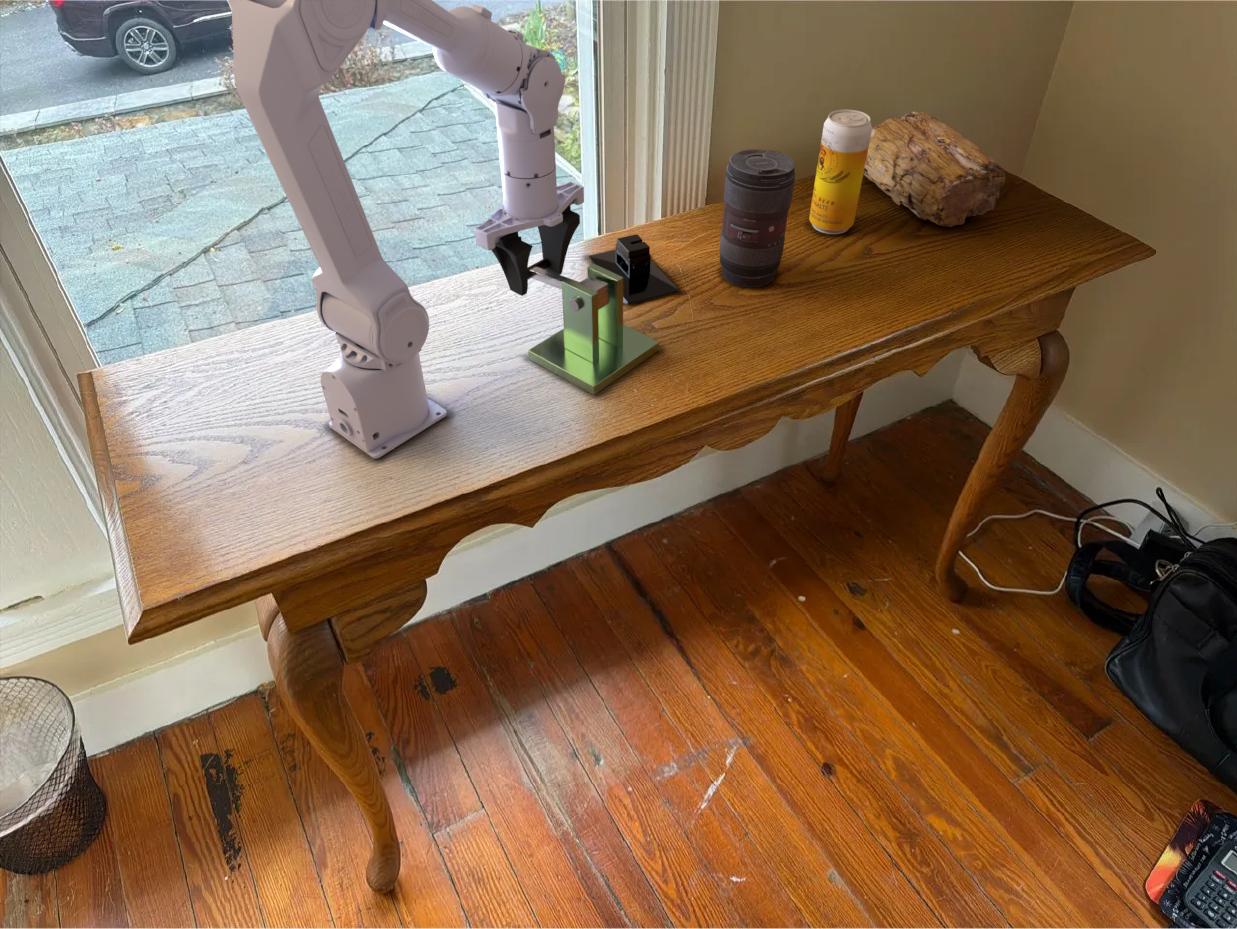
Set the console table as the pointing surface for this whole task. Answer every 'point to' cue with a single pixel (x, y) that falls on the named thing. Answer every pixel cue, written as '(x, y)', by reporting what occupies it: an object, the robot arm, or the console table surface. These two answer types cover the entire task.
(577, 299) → the bracket
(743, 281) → the camera lens
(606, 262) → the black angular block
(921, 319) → the console table surface
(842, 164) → the beer can
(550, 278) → the lever
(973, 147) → the petrified wood
